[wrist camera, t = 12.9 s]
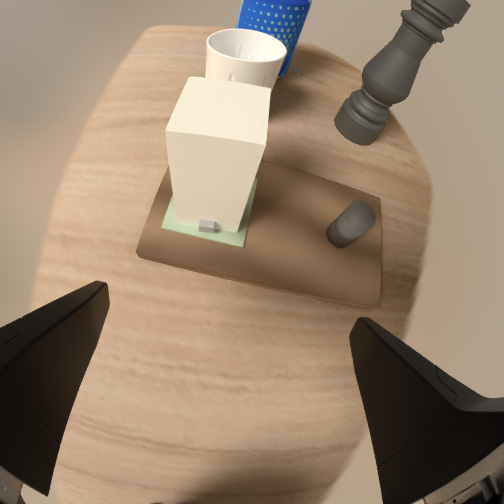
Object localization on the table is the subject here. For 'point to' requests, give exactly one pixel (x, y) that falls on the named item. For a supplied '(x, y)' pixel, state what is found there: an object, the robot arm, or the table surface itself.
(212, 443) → the table surface
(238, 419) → the table surface
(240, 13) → the beer can
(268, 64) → the white cup
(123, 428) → the table surface
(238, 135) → the tall white prism
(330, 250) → the board
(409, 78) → the candle holder
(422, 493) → the robot arm
